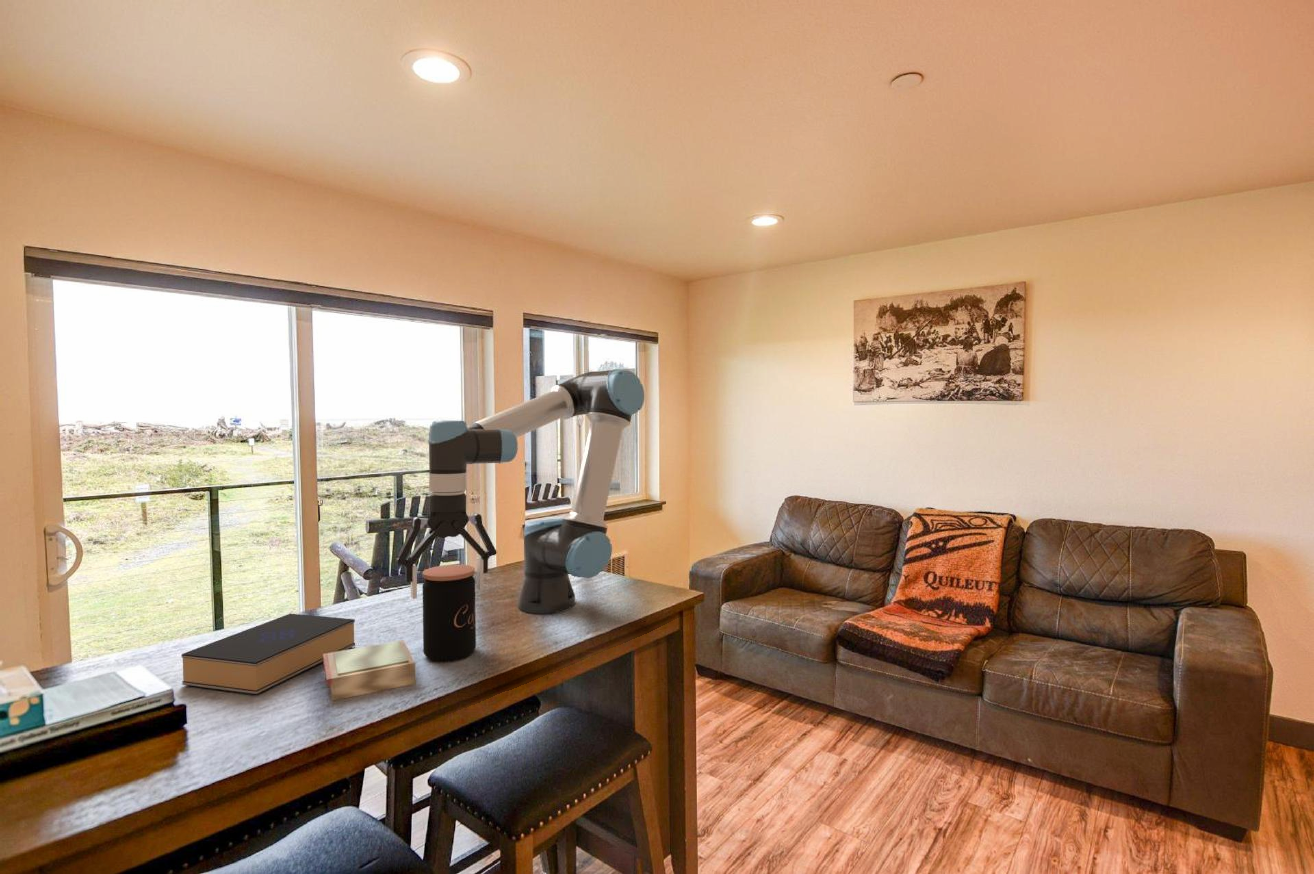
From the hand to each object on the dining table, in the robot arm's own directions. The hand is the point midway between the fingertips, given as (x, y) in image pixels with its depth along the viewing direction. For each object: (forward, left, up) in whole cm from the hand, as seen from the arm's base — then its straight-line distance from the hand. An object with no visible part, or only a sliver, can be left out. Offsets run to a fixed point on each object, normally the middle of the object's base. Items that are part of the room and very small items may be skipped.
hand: (447, 592), depth 132 cm
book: (+32, -12, -14) cm, 37 cm away
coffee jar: (0, 0, -13) cm, 13 cm away
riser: (+16, +5, -13) cm, 21 cm away
